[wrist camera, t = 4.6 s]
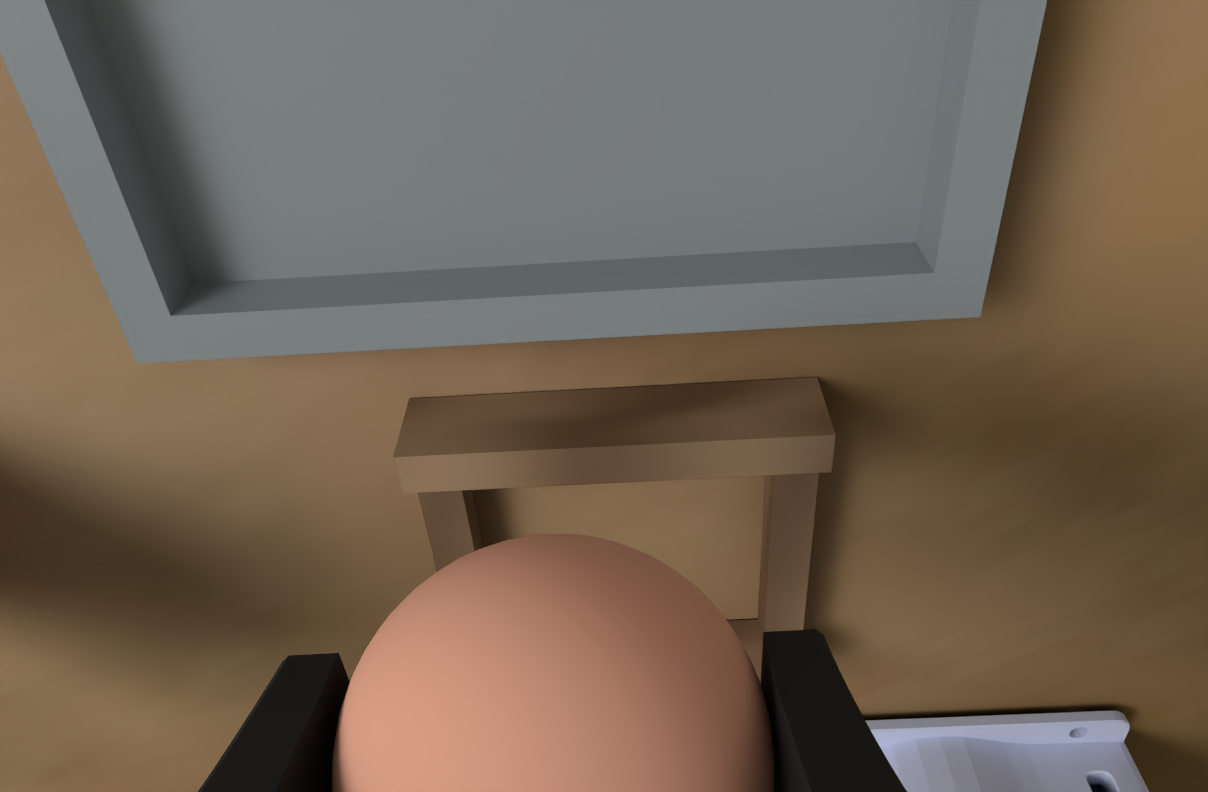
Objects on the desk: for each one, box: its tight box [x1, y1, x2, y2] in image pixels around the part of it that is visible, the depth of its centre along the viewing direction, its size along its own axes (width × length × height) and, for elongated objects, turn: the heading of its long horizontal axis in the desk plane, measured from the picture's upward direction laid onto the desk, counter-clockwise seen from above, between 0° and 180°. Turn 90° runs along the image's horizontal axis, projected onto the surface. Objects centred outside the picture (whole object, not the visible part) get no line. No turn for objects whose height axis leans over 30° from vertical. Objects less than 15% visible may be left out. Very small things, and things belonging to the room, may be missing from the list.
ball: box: [332, 534, 775, 792], centre depth 11 cm, size 5×5×5 cm
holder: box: [393, 377, 836, 683], centre depth 22 cm, size 9×9×2 cm
